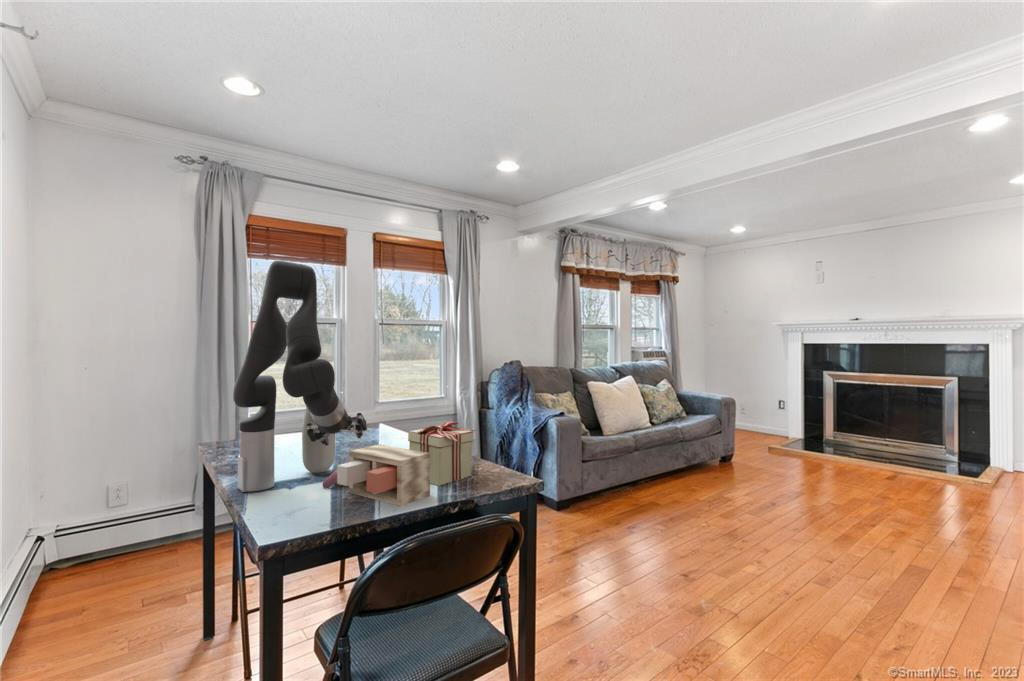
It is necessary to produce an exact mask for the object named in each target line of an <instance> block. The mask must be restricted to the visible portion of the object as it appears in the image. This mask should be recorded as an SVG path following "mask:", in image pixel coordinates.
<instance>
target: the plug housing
mask: <svg viewBox="0 0 1024 681" xmlns="http://www.w3.org/2000/svg"><path fill="white" fill-rule="evenodd" d="M348 455H349V460H348V461H349V462H353V461H357V460H366V461H370V471H371V470H375V469H378V468H382V467H386V466H389V465H391V466H396V467H397V487H395V488H392V489H389V490H386V491H383V492H380V493H373V492H369V491H367V480H365V481H362V482H358V483H355V484H352V485H348V487H349V488H348V490H349V493H350V494H353V495H357V496H361V497H365V498H367V497H368V498H367V499H371V500H375V501H378V502H379V501H380V502H384V503H386V502H387V504H391V505H394V506H398V507H403V506H406V505H409V504H411V503H413V502H416V501H419V500H422V499H424V497H425V498H426V497H430V496H431V484H430V453H427V452H421V451H415V450H409V448H402V447H398V446H390V445H386V444H380V443H379V444H376V445H375V444H374V445H370V446H366V447H362V448H357V449H353V450H349V454H348ZM349 462H348V463H349Z"/></svg>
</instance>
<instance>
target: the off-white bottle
mask: <svg viewBox="0 0 1024 681" xmlns="http://www.w3.org/2000/svg"><path fill="white" fill-rule="evenodd" d="M308 423H311V424H312V425H317V424H316V423H315V421H314V420H313V419H312V416H311V414H310V411H309V409H308V408H307V406H306V405H305V411H304V414H303V419H302V425H301V441H302V442H301V444H302V448H301V450H302V451H301V452H302V454H301V455H302V463H303V465H304V466H303V467H304V468H305V469H306V470H307V471H308V472H310V473H312V474H323V473H326V472H327V471H329V469H330V468H332V467H333V464H334V462H335V459H336V458H335V457H336V433H335V434H331V435H330V436H329V437H328V440H329V445H327V446H326V445H325V444H322V442H321V441H319V440H316V441H315V442H312V441H311V440H310V438H309V436H308V434H307V424H308ZM316 433H319V430H316Z"/></svg>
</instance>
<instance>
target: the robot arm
mask: <svg viewBox="0 0 1024 681" xmlns="http://www.w3.org/2000/svg"><path fill="white" fill-rule="evenodd" d="M317 290H318V288H317V276H316V272H315V270H314V268H313V267H312V266H311V265H310V266H309V265H306V264H302V263H296V262H291V261H287V260H286V261H285V260H274V261H272V262H271V264H270V265H269V268H268V270H267V273H266V276H265V281H264V288H263V292H262V296H261V297H262V298H261V303H260V307H259V310H258V314H257V318H256V319H255V322H254V325H253V329H252V330H251V334H250V339H249V342H248V347H247V350H246V354H245V358H244V361H243V364H242V366H241V368H240V371H239V373H238V375H237V378H236V380H235V383H234V386H233V391H232V392H233V393H232V395H233V396H232V397H233V402H234V404H235V405H236V407H239V408H257V407H260V408H259V410H258V411H257V412H256V413H255V414H252V415H251V416H249V417H247V418H244V419H242V420H241V421H240V423H239V455H238V456H237V488H238V490H240V491H241V492H242V493H247V492H258V491H265V490H268V489H271V488H272V487H273V488H274V486H275V480H276V479H275V433H276V432H275V424H276V423H275V422H276V408H277V407H276V406H277V404H276V403H277V383H276V380H275V377H274V376H272V375H261V374H263V372H265V371H266V370H267V369H270V368H271V367H272V366H273V365H275V364H276V363H277V362H278V361H280V359H281V358H282V357H283V356H284V354H285V352H286V349H287V357H286V360H285V364H284V368H283V373H282V386H283V389H284V391H285V393H287V394H288V396H290V397H292V398H295V399H296V398H302V399H303V403H304V404H305V407H306V406H307V408H308V409H309V411H310V414H311V416H312V419H313V420H314V421H315V423H316V424H317V425H312V424H311V423H308V424H307V434H308V436H309V438H310V440H311V441H312V442H315V441H316V440H319V441H321V442H322V444H325V445H326V446H327V445H329V440H328V437H329V436H330V435H331V434H335V435H336V434H338V433H349V434H352V433H355V435H356V437H357V440H358V439H361V438H362V437H363V432H365V431H367V430H368V427H367V421H366V419H365V417H364V416H363V414H362V412H357V413H356V416H351V415H349V414H348V412H347V410H346V408H345V405H344V404H343V402H342V401H341V398H340V397H339V396H338V394H337V392H336V390H335V381H336V377H335V376H336V374H335V370H334V367H333V365H332V363H331V362H330V361H328V360H326V359H324V358H320V357H321V355H322V346H321V342H320V341H321V340H320V335H319V330H318V321H317V320H318V318H317V316H318V315H317V314H318V302H317V301H318V296H317V295H318V294H317V292H318V291H317ZM280 298H282V299H291V300H295V301H296V300H297V301H301V302H302V303H301V306H300V307H299V308H298V310H296V312H295V313H294V314H292V316H291V318H290V319H289V320H288V323H287V321H286V320H285V318H284V316H283V315H282V313H281V311H280V308H279V305H278V299H280ZM316 430H319V433H316Z"/></svg>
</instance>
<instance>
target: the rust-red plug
mask: <svg viewBox="0 0 1024 681" xmlns="http://www.w3.org/2000/svg"><path fill="white" fill-rule="evenodd" d="M395 487H397V467H396V466H391V465H389V466H386V467H382V468H378V469H375V470H371V471H368V472H367V491H369V492H373V493H380V492H383V491H386V490H389V489H392V488H395Z"/></svg>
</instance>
